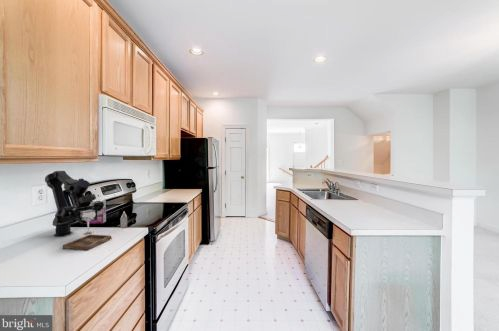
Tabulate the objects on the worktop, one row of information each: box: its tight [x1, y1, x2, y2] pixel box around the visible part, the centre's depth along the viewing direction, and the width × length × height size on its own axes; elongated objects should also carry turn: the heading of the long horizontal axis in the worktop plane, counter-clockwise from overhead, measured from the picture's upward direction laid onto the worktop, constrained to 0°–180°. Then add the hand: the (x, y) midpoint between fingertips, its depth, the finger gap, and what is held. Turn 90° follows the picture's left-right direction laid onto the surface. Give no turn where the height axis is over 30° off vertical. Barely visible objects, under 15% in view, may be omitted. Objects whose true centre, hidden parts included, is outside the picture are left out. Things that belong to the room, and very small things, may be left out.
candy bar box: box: [85, 199, 107, 225], centre depth 155 cm, size 11×5×16 cm, turn 102°
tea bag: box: [120, 210, 128, 229], centre depth 148 cm, size 4×7×10 cm, turn 28°
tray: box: [62, 234, 112, 251], centre depth 117 cm, size 16×14×2 cm
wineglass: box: [79, 210, 96, 236], centre depth 117 cm, size 7×7×12 cm
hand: (89, 221), depth 116 cm, fingers closed on wineglass, 6 cm apart
